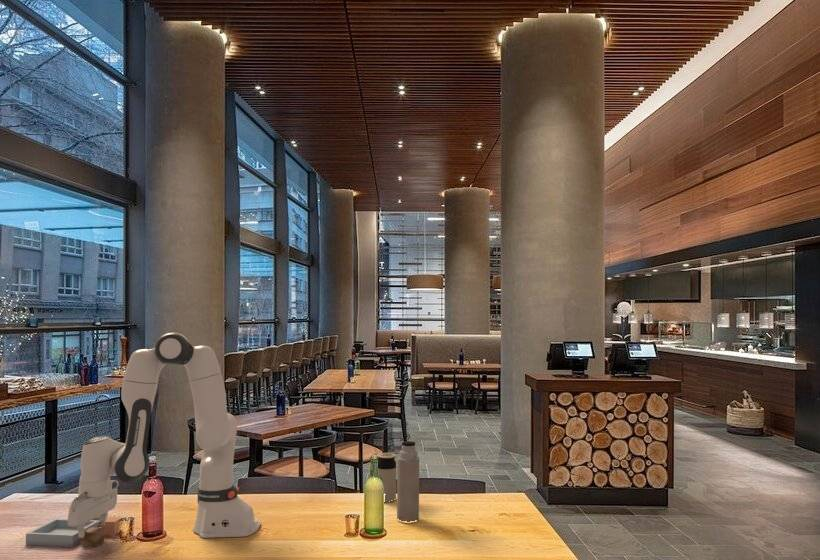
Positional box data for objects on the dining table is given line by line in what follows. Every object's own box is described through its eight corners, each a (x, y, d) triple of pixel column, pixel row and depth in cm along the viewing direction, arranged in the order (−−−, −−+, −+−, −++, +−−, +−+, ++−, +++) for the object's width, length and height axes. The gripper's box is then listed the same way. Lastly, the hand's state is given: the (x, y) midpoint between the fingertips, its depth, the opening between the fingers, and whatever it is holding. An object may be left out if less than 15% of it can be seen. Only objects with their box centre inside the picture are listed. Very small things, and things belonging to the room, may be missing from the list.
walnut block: (103, 541, 194) (104, 527, 195) (95, 547, 190) (95, 532, 190) (90, 541, 195) (91, 527, 195) (82, 546, 190) (82, 532, 191)
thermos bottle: (392, 519, 218) (393, 441, 219) (410, 514, 223) (410, 438, 224) (405, 525, 211) (406, 445, 213) (423, 520, 216) (423, 442, 218)
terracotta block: (121, 530, 204) (122, 517, 205) (113, 535, 200) (114, 522, 200) (109, 530, 205) (109, 516, 205) (101, 535, 200) (101, 521, 201)
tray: (99, 530, 204) (99, 520, 204) (72, 546, 190) (72, 535, 190) (55, 529, 205) (55, 518, 205) (25, 544, 191) (26, 533, 191)
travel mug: (391, 496, 245) (392, 451, 246) (398, 501, 238) (399, 456, 239) (373, 498, 242) (373, 453, 243) (379, 504, 235) (380, 457, 236)
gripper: (82, 498, 183) (79, 544, 182) (121, 480, 203) (119, 521, 203) (63, 497, 184) (60, 542, 183) (104, 479, 204) (102, 520, 203)
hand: (91, 531), depth 193 cm, fingers open, 8 cm apart
